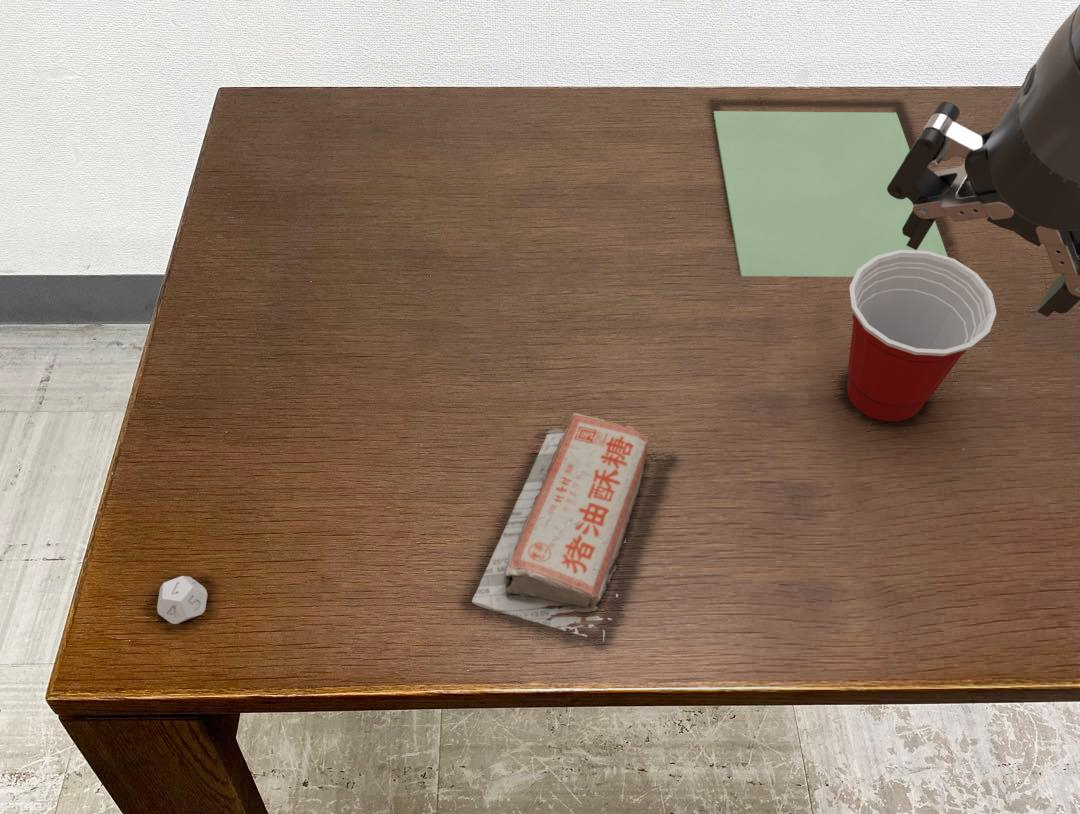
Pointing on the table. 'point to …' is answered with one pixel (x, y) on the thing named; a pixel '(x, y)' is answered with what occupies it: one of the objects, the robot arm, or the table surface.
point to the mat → (814, 190)
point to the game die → (181, 599)
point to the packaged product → (567, 524)
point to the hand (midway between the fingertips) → (982, 268)
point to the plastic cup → (911, 328)
